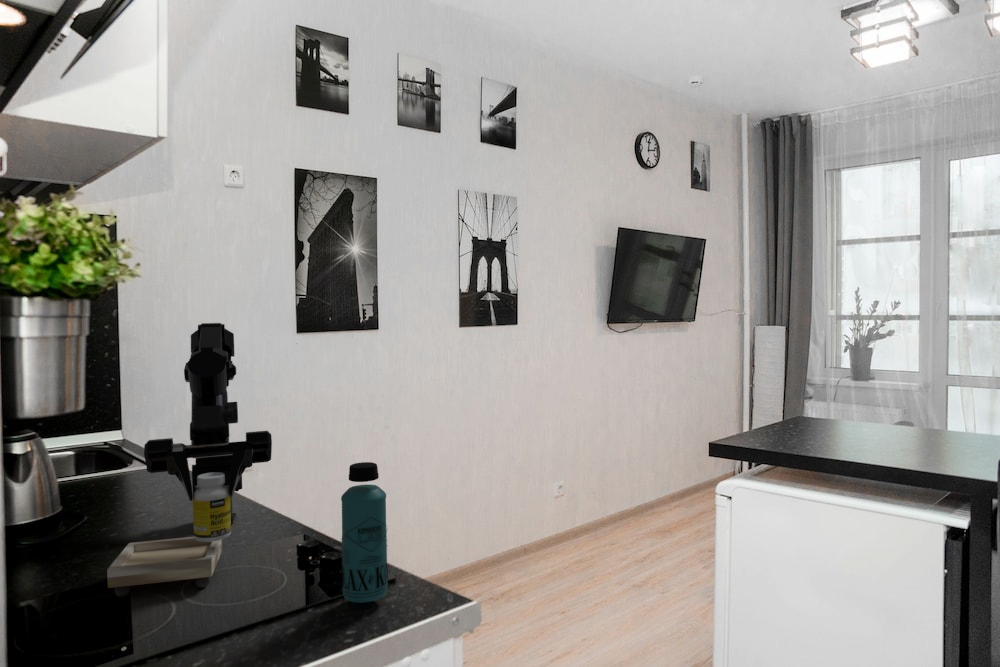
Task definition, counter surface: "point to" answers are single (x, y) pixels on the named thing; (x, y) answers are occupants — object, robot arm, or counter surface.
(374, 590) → the beverage bottle
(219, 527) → the supplement bottle
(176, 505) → the counter surface
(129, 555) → the shallow square tray
